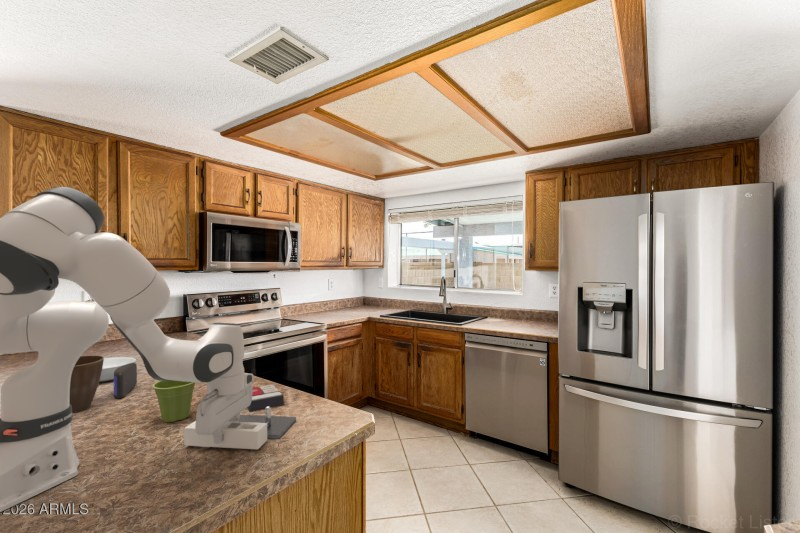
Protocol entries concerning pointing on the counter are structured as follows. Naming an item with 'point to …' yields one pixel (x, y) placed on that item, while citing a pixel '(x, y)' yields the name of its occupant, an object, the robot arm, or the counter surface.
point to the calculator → (265, 398)
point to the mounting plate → (275, 422)
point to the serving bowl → (113, 366)
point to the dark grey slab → (124, 379)
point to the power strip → (230, 436)
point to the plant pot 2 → (174, 399)
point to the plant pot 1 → (85, 381)
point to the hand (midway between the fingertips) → (226, 436)
